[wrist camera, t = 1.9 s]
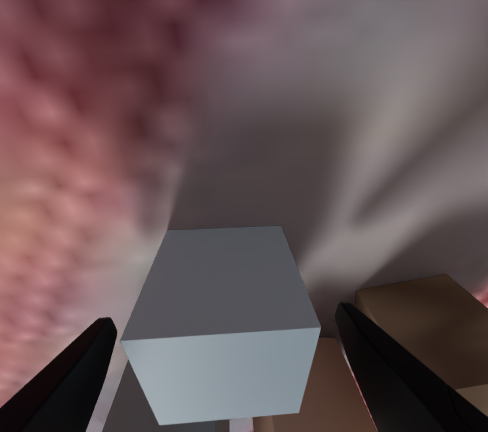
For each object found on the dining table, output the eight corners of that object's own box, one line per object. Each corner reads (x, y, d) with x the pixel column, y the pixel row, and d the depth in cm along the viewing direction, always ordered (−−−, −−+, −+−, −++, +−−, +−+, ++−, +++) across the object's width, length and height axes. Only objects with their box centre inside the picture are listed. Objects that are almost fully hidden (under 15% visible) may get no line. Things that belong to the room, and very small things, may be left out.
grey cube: (280, 224, 10) (321, 327, 6) (273, 300, 13) (299, 413, 8) (167, 229, 10) (119, 341, 5) (183, 306, 12) (159, 425, 8)
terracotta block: (335, 336, 15) (381, 440, 10) (313, 376, 17) (343, 474, 13) (260, 335, 14) (276, 445, 10) (249, 377, 16) (257, 480, 12)
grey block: (218, 329, 13) (214, 444, 9) (229, 372, 16) (229, 478, 12) (135, 340, 13) (91, 460, 9) (158, 381, 16) (133, 491, 12)
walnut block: (445, 272, 12) (563, 371, 8) (425, 327, 15) (506, 424, 11) (355, 289, 13) (423, 394, 8) (350, 340, 15) (400, 442, 11)
